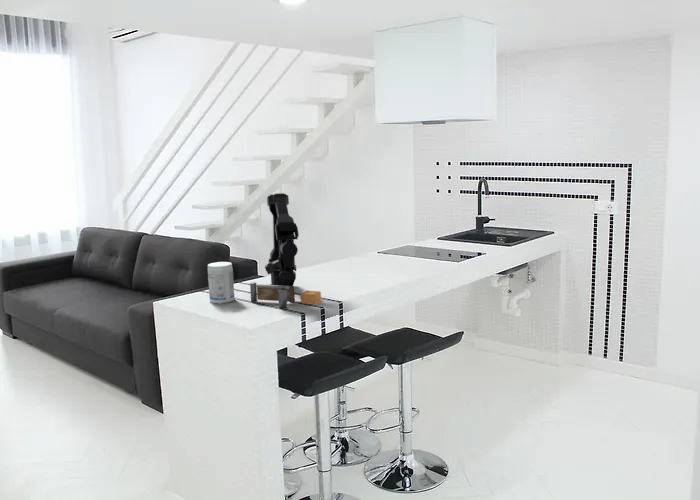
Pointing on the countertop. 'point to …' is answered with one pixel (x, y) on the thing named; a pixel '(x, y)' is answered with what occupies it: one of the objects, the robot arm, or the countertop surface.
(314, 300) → the orange-brown rectangular block
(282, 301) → the gate posts
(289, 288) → the gate
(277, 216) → the robot arm
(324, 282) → the countertop surface
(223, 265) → the supplement tub
